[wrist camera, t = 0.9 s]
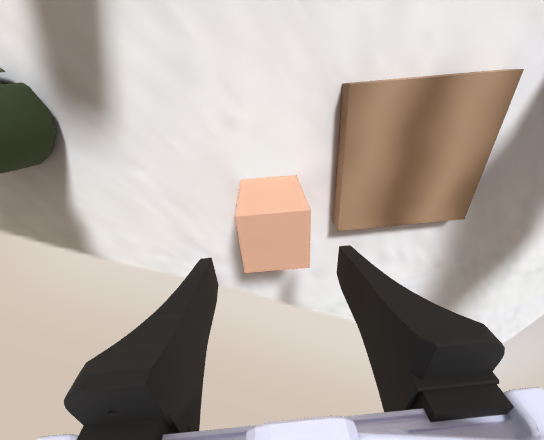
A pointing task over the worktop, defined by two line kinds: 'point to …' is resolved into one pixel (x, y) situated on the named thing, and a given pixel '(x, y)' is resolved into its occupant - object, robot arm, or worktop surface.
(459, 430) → the robot arm
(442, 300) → the worktop surface
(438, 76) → the walnut board
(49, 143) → the character mug
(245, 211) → the terracotta block
